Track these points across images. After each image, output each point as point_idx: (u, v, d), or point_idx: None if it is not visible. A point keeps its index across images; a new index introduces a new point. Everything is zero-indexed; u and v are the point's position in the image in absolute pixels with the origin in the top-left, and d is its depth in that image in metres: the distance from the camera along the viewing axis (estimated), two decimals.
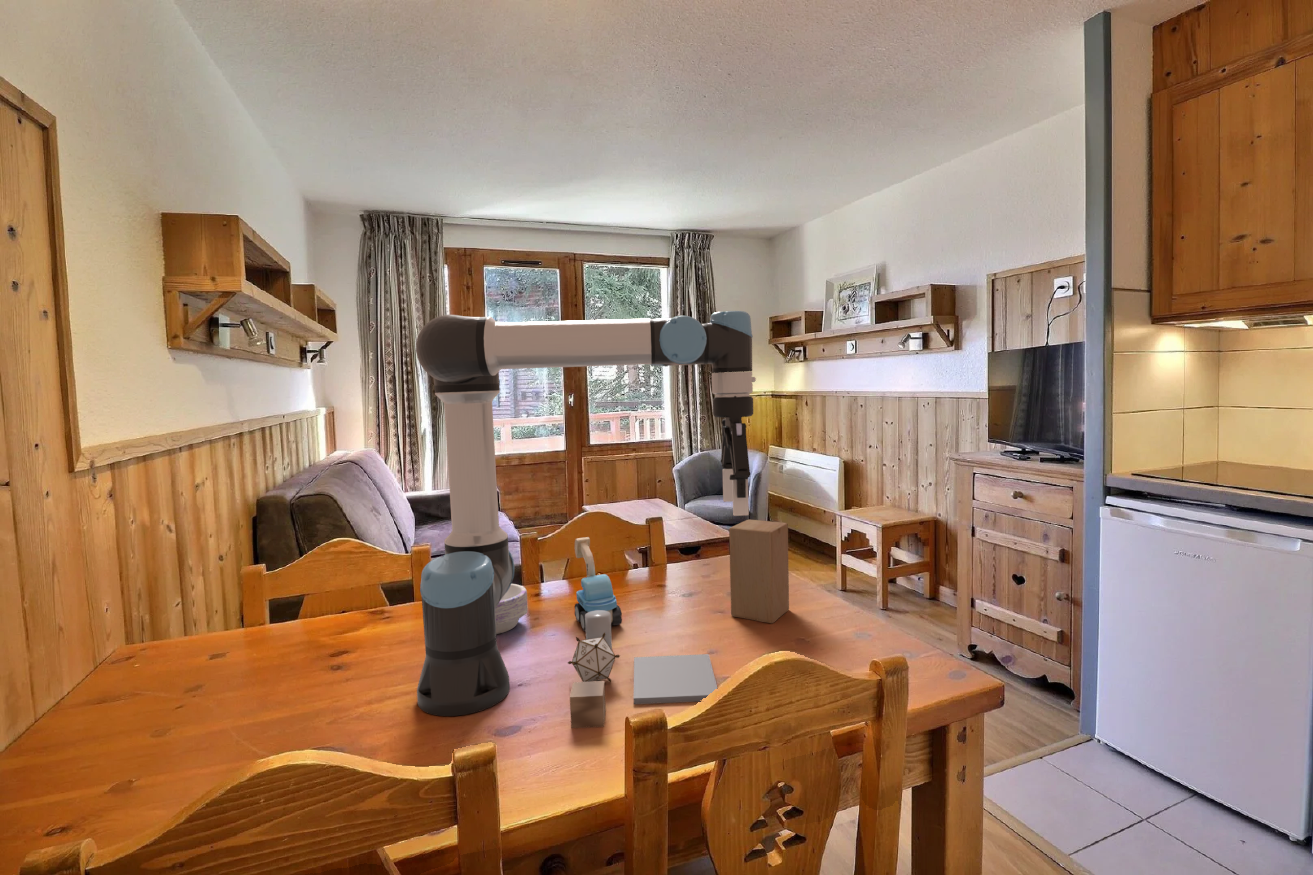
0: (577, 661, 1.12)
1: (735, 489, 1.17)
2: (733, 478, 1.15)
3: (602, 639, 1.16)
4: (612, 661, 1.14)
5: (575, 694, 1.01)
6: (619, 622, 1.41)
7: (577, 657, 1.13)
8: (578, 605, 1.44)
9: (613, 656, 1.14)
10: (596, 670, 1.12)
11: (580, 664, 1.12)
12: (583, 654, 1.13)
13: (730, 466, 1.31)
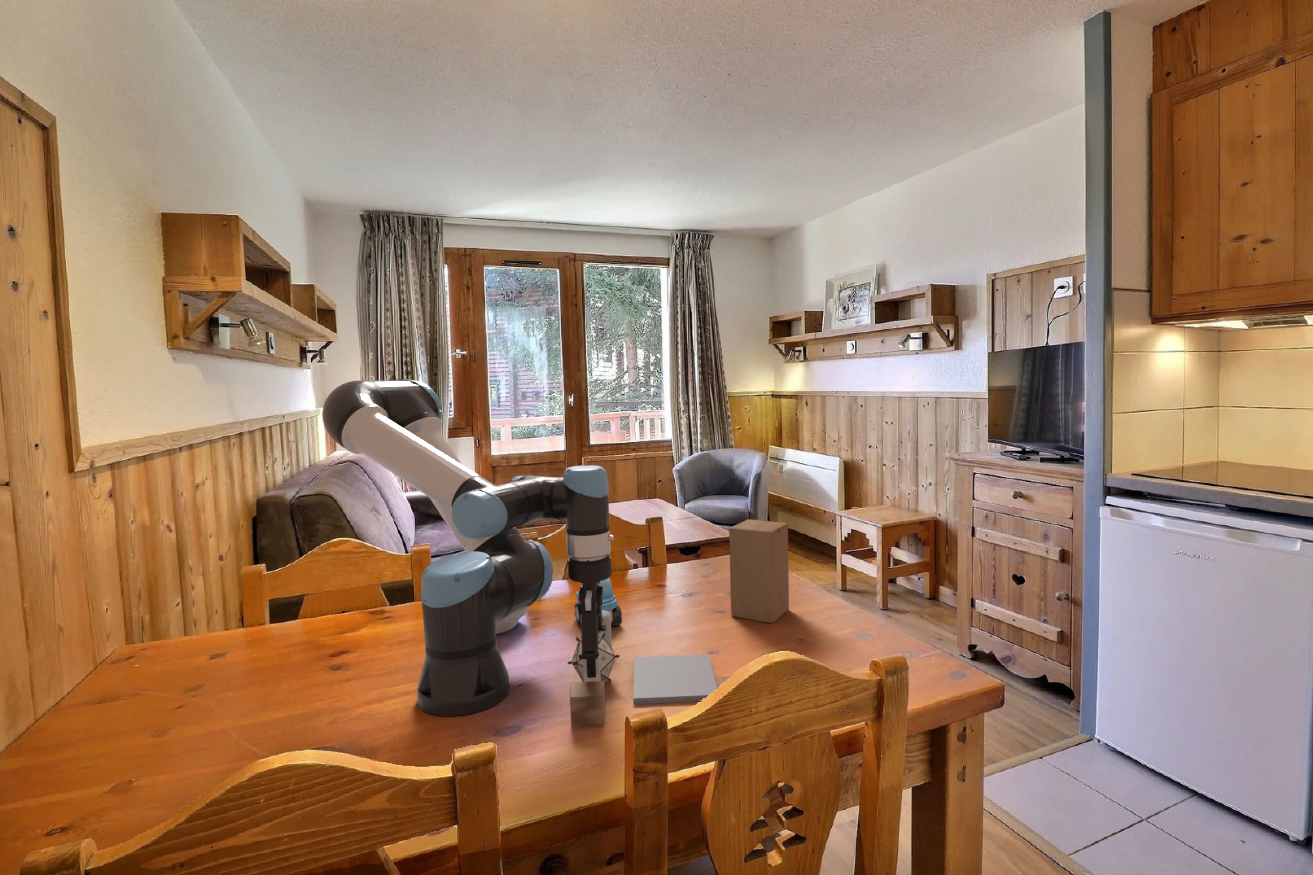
0: (577, 661, 1.12)
1: (586, 667, 1.10)
2: (582, 658, 1.09)
3: (602, 639, 1.16)
4: (612, 661, 1.14)
5: (575, 694, 1.00)
6: (619, 622, 1.41)
7: (577, 657, 1.13)
8: (578, 605, 1.44)
9: (613, 656, 1.14)
10: None
11: (580, 664, 1.12)
12: None
13: None
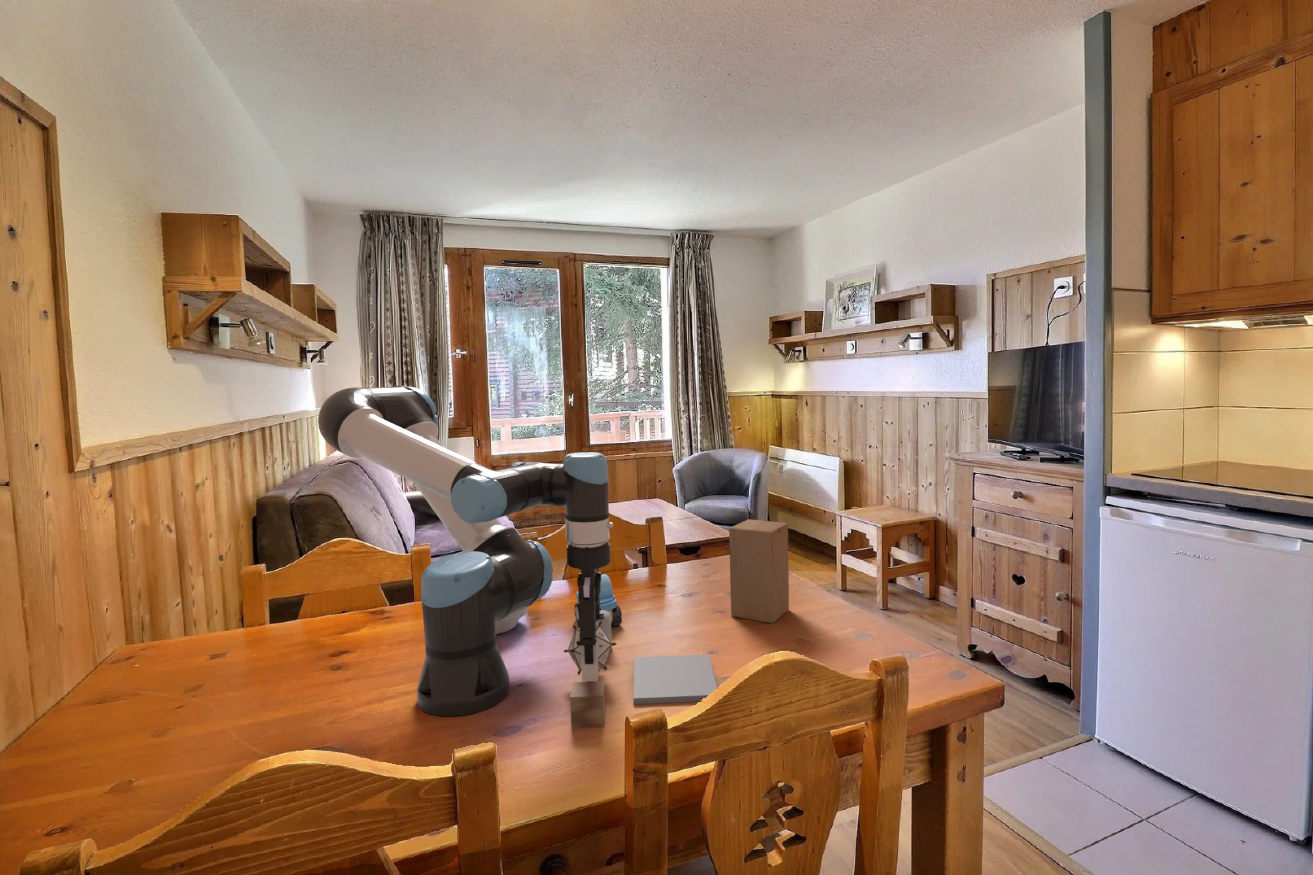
0: (574, 649, 1.12)
1: (583, 653, 1.10)
2: (580, 644, 1.09)
3: (598, 627, 1.16)
4: (609, 649, 1.14)
5: (575, 694, 1.00)
6: (619, 622, 1.41)
7: (574, 645, 1.13)
8: (578, 605, 1.44)
9: (610, 644, 1.14)
10: None
11: (577, 651, 1.12)
12: None
13: None
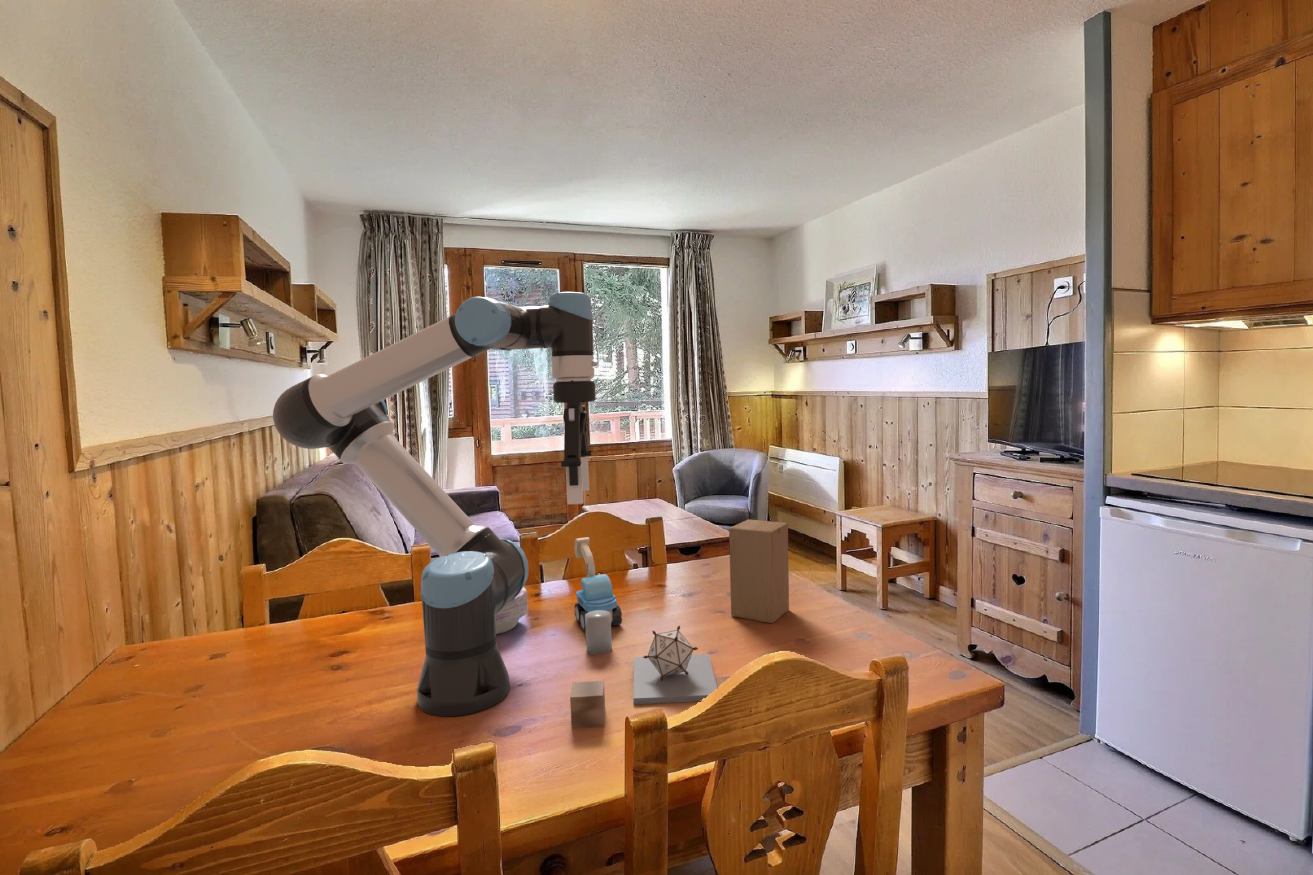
0: (657, 655, 1.11)
1: (568, 477, 1.12)
2: (564, 465, 1.11)
3: (678, 632, 1.15)
4: (690, 654, 1.14)
5: (575, 695, 1.00)
6: (619, 622, 1.41)
7: (656, 651, 1.12)
8: (578, 605, 1.44)
9: (691, 649, 1.14)
10: (677, 663, 1.11)
11: (660, 657, 1.11)
12: (662, 647, 1.12)
13: (582, 454, 1.26)
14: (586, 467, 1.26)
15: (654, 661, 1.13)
